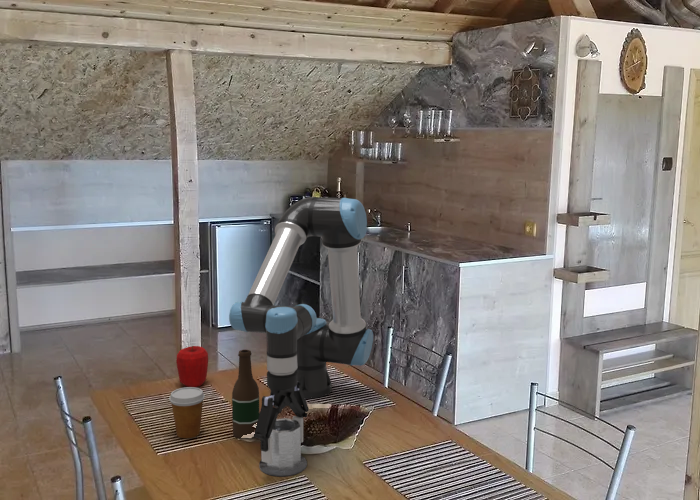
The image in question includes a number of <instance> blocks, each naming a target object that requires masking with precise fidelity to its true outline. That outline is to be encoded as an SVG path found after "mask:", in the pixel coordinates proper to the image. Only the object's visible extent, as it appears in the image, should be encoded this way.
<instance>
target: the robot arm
mask: <svg viewBox="0 0 700 500" xmlns="http://www.w3.org/2000/svg"><path fill="white" fill-rule="evenodd" d="M367 226H368V217H367V213H366V210H365V207H364V205H363V203H362V202H361V201H360V200H358V199H356V198H347V197H321V196H319V197H318V196H317V197H316V196H309V197H305V198H302V199H300V200H297V202H294V203H293V204H292V205H291V206H290V207H288V209H286V211H285V212H283V214H282V215H281V217H280V218H279V220H278V222H277V223H276V225H275V227H274V237H273V240H272V242H271V245H270V246H269V249H268V251H267V253H266V256H265V257H264V260H263V262H262V263H261V265H260V268H259V270H258V272H257V275H256V277H255V279H254V281H253V284H252V285H251V288H250V290H249V293H248V294H247V295H246V298H245V300H244V301H240V302H239V301H237V302H235V303H234V304H232V306H231V307H230V310H229V315H228V319H229V321H228V322H229V324H230V327H231V328H232V329H234V330H235V331H240V332H244V333H245V332H246V333H258V334H265V336H266V337H265V338H266V370H267V372H266V386H267V387H268V388H269V390H270V394H269V396H264V395H263V396H262V398H261V407H260V409H259V412H260V414H259V418H258V422H257V426H256V430H255V434H254V438H255V439H256V438H257V439H259V440H260V441H259V442H260V451H261V452H260V453H261V459H262V462H265V463H269V464H271V463H272V437H270V435H271V432H272V430H273V427H274V425H275V422H276V419H278V416H279V414H281V413H282V411H283V410H284V409H285V408H286V407H289V409H290V411H292V413H293V414H294V415H293V416H292V420H296V421H298V422H299V424H300V426H301V443H303V442H304V418H307V417H308V412H309V410H310V409H309V408H310V407H309V405H308V403H307V400H306V399H317V398H323V397H324V396H327V395H329V394H330V393H331V392H332V390H333V389H332V385H333V384H332V380H331V377H330V375H329V371H328V368H327V363H332V364H338V365H339V364H340V365H348V366H350V367H351V366H358V367H361V366H364V365H365V364H367V362H368V360H369V358H370V356H371V352H372V348H373V343H374V332H373V330H372V329H370V328H367V322H366V320H365V319H363V318H362V316H361V301H360V298H361V297H360V285H359V268H358V267H359V266H358V251H357V250H358V249H357V247H358V246H360V244H361V243H362V239H364V238H365V237H366V234H367V230H368V227H367ZM309 237H321V243H322V244H321V245H322V246H323V247H324V248H325V249H327V256H328V268H329V269H328V270H329V282H330V284H329V285H330V294H331V310H332V320H331V321H330V322H329V324H328V322H327V320H326V319H324V318H320V317H317V313H316V312H315V310H314V309H313V308H312V306H310V305H308V304H306V303H300V304H297V305H294V306H287V305H286V306H285V305H275V303H276V301H277V298H278V296H279V293H281V292H280V291H281V289H282V287H283V285H284V282H285V280H286V277H287V276H288V273H289V271H290V269H291V266H292V264H293V262H294V260H295V257H296V255H297V252H298V250H299V247H300V246H301V245H303V244H305V242H306V240H307V238H309ZM266 432H267V433H266ZM261 459H260V460H261Z"/></svg>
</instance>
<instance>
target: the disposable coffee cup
mask: <svg viewBox="0 0 700 500" xmlns="http://www.w3.org/2000/svg"><path fill="white" fill-rule="evenodd" d="M203 391H204V390H203V389H201V388H199V387H187V386H184V387H180V388H176V389H175V390H173V391H171V392H170V396H169V399H168V400H169V402H170V404H171V409H172V414H173V420H174V425H175V431H176V437H178V438H180V439H191V438H195V437H198V436H199V435H200V434H201V426H202V425H201V424H202V416H203V415H202V414H203V406H204V405H203V403H204V399H205V395H206V394H204V392H203Z"/></svg>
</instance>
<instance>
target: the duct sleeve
mask: <svg viewBox="0 0 700 500" xmlns="http://www.w3.org/2000/svg"><path fill="white" fill-rule="evenodd" d="M266 433H267V432H266ZM270 437H272V463H271V464H269V463H266V465H267V468H269V469H273V470H276V471H286V470H293V469H295V468H296V467H297V466H299V465H300V464H301V456H302V451H301V448H302V447H301V446H302V445H301V426H300V424H299V422H298V421H296V420H293V418H292V419H291V418H287V417H284V418H277V419H276V422H275V425H274V427H273V430H272V432H271V435H270Z"/></svg>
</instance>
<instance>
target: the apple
mask: <svg viewBox="0 0 700 500" xmlns="http://www.w3.org/2000/svg"><path fill="white" fill-rule="evenodd" d="M175 361H176V367H177V373H178V379H179V382H180V383H181V384H182V385H184V387H195V388H199V387H201V386H202V385H203V384H204V383H205V382H206V380H207V375H208V368H209V353H208V351H207V350H206V349H205V348H204V347H203V346H199V345H191V346H187V347H184V348H181V349H180V350H179V351H178V353H177V354H176V360H175Z"/></svg>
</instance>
